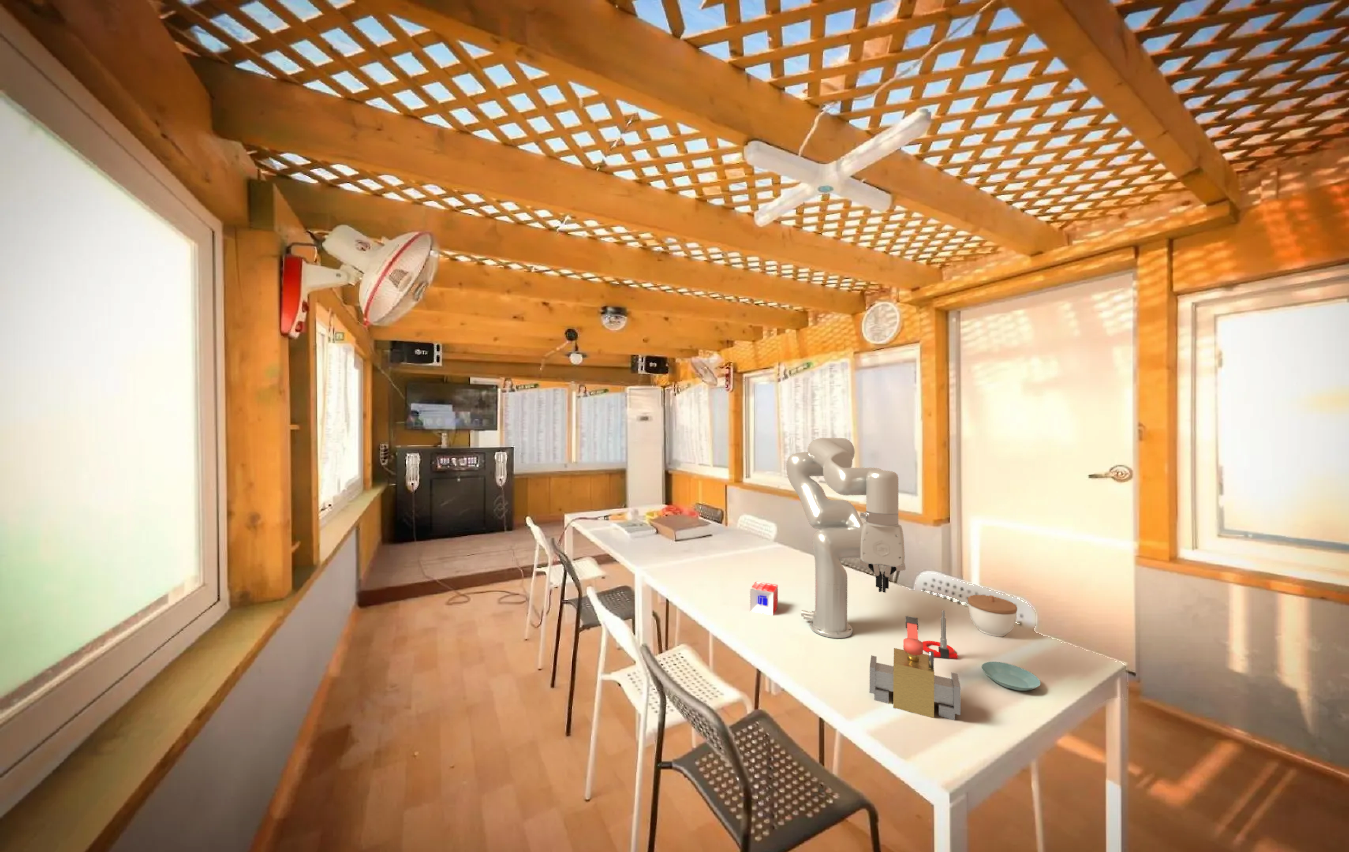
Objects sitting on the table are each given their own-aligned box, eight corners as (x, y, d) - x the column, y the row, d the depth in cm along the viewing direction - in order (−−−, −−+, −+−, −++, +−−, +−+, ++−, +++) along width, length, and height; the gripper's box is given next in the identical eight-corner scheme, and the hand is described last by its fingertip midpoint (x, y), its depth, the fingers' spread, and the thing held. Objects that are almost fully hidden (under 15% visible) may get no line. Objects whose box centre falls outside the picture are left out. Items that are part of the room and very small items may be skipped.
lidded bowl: (986, 620, 149) (987, 587, 149) (1027, 637, 137) (1027, 601, 137) (958, 625, 145) (958, 591, 145) (997, 643, 133) (997, 606, 133)
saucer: (1047, 686, 112) (1047, 677, 112) (1030, 702, 105) (1030, 693, 105) (992, 665, 121) (992, 657, 121) (973, 679, 114) (973, 670, 114)
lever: (923, 656, 101) (923, 647, 101) (903, 652, 103) (903, 643, 103) (920, 626, 117) (920, 618, 117) (903, 623, 119) (903, 615, 119)
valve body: (869, 701, 104) (869, 643, 104) (871, 683, 112) (871, 629, 112) (960, 724, 96) (961, 661, 96) (956, 704, 104) (957, 645, 104)
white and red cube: (777, 607, 159) (777, 584, 159) (773, 615, 152) (773, 592, 152) (755, 603, 162) (755, 581, 162) (749, 611, 155) (749, 588, 155)
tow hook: (915, 643, 134) (928, 657, 125) (915, 599, 134) (928, 610, 125) (946, 646, 133) (961, 660, 123) (946, 601, 133) (961, 612, 124)
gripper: (849, 518, 116) (849, 590, 116) (915, 524, 109) (915, 600, 109) (852, 514, 123) (852, 581, 123) (914, 519, 116) (914, 590, 116)
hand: (882, 590), depth 116 cm, fingers closed
